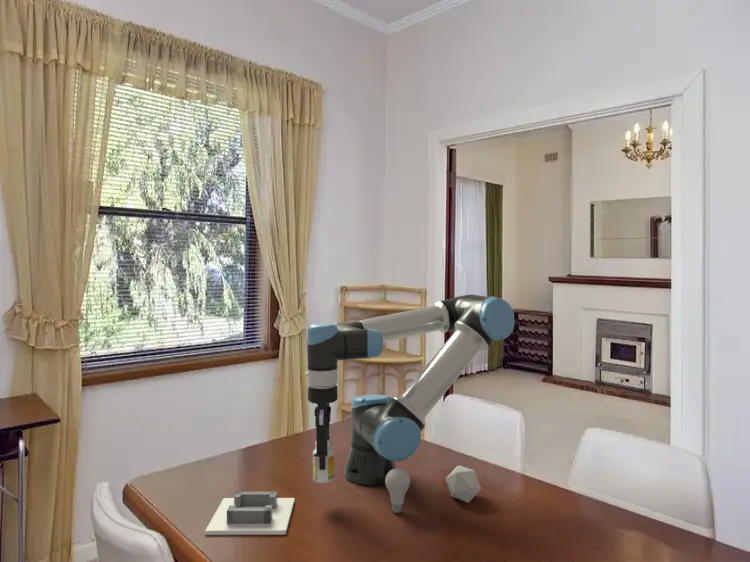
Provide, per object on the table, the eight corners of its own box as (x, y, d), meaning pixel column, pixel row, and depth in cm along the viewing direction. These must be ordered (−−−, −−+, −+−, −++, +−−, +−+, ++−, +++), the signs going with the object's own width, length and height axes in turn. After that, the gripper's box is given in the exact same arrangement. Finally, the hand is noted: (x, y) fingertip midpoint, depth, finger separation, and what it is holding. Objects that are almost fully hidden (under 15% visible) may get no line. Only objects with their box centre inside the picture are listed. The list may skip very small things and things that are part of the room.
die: (486, 501, 135) (476, 464, 140) (480, 496, 128) (469, 458, 134) (456, 508, 137) (447, 471, 142) (449, 504, 130) (439, 466, 135)
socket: (294, 501, 132) (294, 486, 132) (285, 534, 116) (285, 517, 116) (223, 501, 131) (223, 486, 131) (205, 534, 115) (205, 517, 115)
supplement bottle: (308, 478, 130) (308, 441, 130) (326, 472, 134) (326, 436, 133) (320, 485, 126) (319, 447, 126) (338, 479, 130) (337, 442, 129)
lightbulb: (392, 521, 123) (393, 475, 122) (380, 510, 128) (381, 466, 128) (414, 515, 125) (415, 471, 125) (401, 505, 131) (402, 462, 130)
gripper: (311, 377, 138) (311, 461, 139) (303, 394, 120) (304, 492, 121) (338, 376, 138) (339, 461, 139) (336, 394, 120) (336, 491, 121)
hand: (323, 475), depth 130 cm, fingers closed on supplement bottle, 5 cm apart
